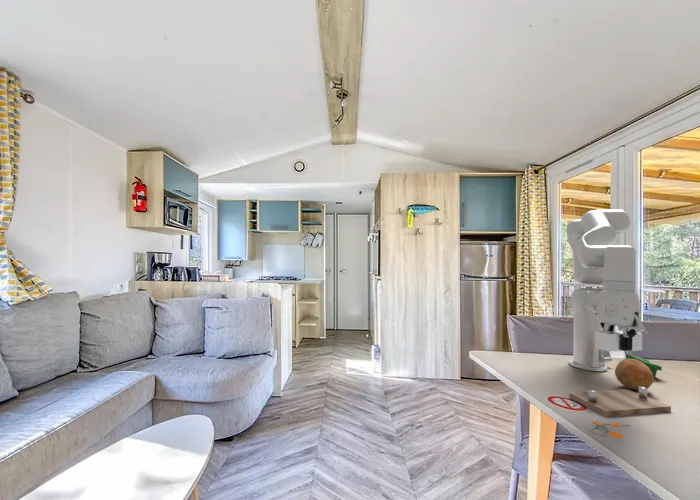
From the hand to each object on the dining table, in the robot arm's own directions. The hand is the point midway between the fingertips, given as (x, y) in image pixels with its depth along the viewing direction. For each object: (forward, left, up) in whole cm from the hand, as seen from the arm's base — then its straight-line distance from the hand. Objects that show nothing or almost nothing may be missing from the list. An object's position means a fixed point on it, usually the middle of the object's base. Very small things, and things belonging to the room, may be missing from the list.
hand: (618, 347), depth 98 cm
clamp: (-37, -21, -17) cm, 46 cm away
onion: (-17, -9, -17) cm, 26 cm away
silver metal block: (0, 0, 0) cm, 0 cm away
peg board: (0, 0, -17) cm, 17 cm away
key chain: (+16, +11, -17) cm, 26 cm away
